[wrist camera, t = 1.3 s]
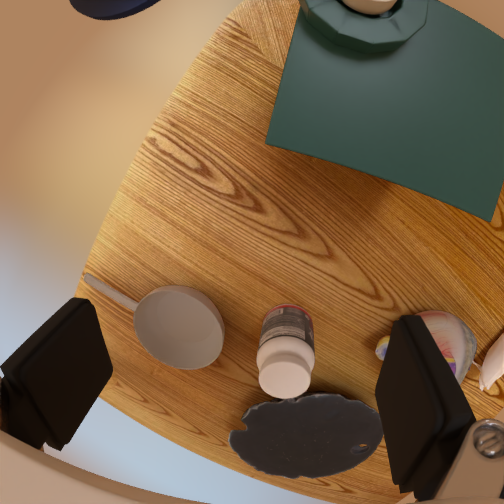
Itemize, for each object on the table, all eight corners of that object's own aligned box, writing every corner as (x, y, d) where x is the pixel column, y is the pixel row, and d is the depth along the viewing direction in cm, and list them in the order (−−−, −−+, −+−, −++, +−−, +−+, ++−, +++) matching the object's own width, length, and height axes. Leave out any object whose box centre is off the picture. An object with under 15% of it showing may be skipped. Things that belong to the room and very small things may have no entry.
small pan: (206, 365, 40) (198, 384, 36) (90, 295, 39) (75, 309, 35) (245, 307, 36) (240, 326, 32) (112, 228, 35) (94, 238, 31)
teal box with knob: (277, 140, 29) (254, 143, 12) (303, 40, 25) (312, -71, 8) (395, 177, 29) (507, 232, 11) (420, 79, 25) (541, 38, 7)
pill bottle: (308, 345, 37) (309, 405, 28) (260, 340, 37) (250, 399, 28) (316, 304, 35) (321, 361, 26) (265, 298, 35) (254, 354, 26)
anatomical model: (434, 369, 36) (457, 420, 27) (358, 351, 36) (371, 410, 27) (471, 308, 33) (508, 355, 23) (394, 282, 33) (424, 332, 23)
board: (407, 414, 39) (414, 439, 35) (302, 470, 47) (301, 493, 42) (313, 338, 36) (314, 365, 32) (204, 415, 44) (196, 440, 39)
